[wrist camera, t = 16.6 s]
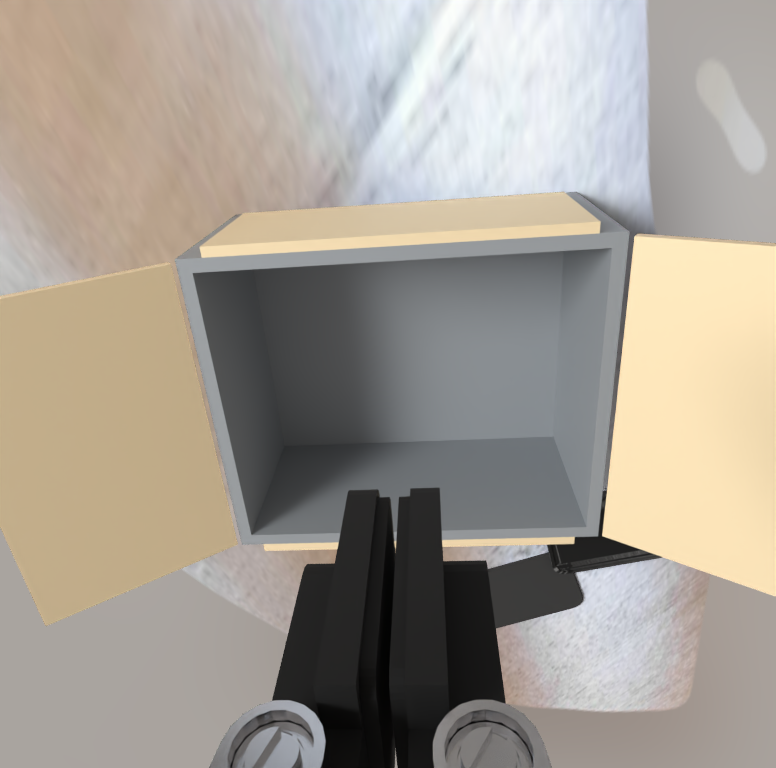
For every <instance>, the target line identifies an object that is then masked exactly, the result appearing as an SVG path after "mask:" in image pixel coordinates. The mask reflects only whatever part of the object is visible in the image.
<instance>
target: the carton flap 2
mask: <svg viewBox="0 0 776 768" xmlns="http://www.w3.org/2000/svg"><path fill="white" fill-rule="evenodd" d="M602 536H604V537H606V538H609V539H612V540H615V541H618V542H621V543H624V544H627V545H629V546H632V547H635V548H638V549H641V550H644V551H647V552H649V553H652V554H655V555H658V556H661V557H664V558H667V559H670V560H672V561H675V562H678V563H681V564H684V565H687V566H690V567H692V568H695V569H698V570H701V571H704V572H707V573H710V574H712V575H715V576H718V577H721V578H724V579H727V580H730V581H733V582H736V583H738V584H741V585H744V586H747V587H750V588H753V589H755V590H758V591H761V592H764V593H767V594H770V595H773V596H776V243H765V242H751V241H738V240H723V239H709V238H695V237H680V236H667V235H653V234H639V233H638V234H637V235H635V237H634V246H633V255H632V264H631V274H630V283H629V292H628V301H627V311H626V320H625V329H624V338H623V348H622V357H621V366H620V375H619V385H618V394H617V403H616V413H615V422H614V431H613V440H612V450H611V459H610V468H609V477H608V487H607V496H606V505H605V514H604V524H603V533H602Z"/></svg>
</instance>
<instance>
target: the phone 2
mask: <svg viewBox="0 0 776 768" xmlns="http://www.w3.org/2000/svg"><path fill="white" fill-rule="evenodd" d="M606 496H607V491H603V493H602V503H601V512H600V522H599V531H598V536H593V537H575V540H574V544H549V545H547V546H548V551H549V555H550V559H551V564H552V567H553V569H554V570H555V571H556V572H557V573H560V574H569V573H575V572H581V571H587V570H592V569H598V568H604V567H610V566H616V565H621V564H627V563H633V562H639V561H645V560H651V559H656V558H662V557H661V556H658V555H655V554H652V553H649V552H647V551H644V550H641V549H638V548H635V547H632V546H629V545H627V544H624V543H621V542H618V541H615V540H612V539H609V538H606V537H604V536H602V533H603V524H604V514H605V505H606Z"/></svg>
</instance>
